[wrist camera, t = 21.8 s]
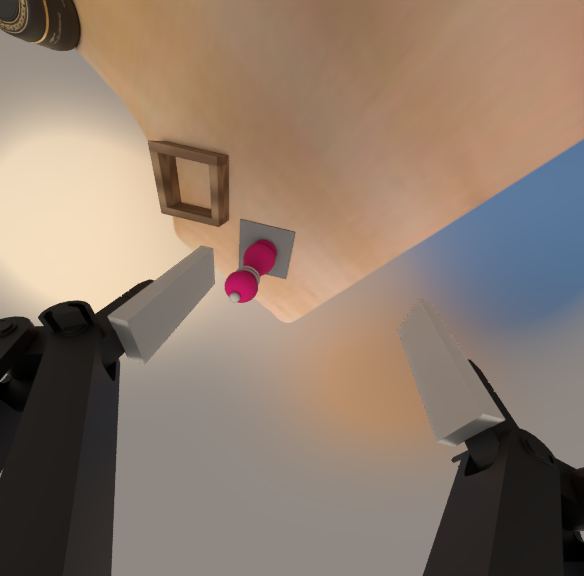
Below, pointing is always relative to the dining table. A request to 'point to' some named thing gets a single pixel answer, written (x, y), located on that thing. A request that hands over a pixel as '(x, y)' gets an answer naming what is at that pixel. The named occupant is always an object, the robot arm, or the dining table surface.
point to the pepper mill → (251, 271)
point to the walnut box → (169, 185)
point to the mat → (276, 236)
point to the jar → (41, 22)
